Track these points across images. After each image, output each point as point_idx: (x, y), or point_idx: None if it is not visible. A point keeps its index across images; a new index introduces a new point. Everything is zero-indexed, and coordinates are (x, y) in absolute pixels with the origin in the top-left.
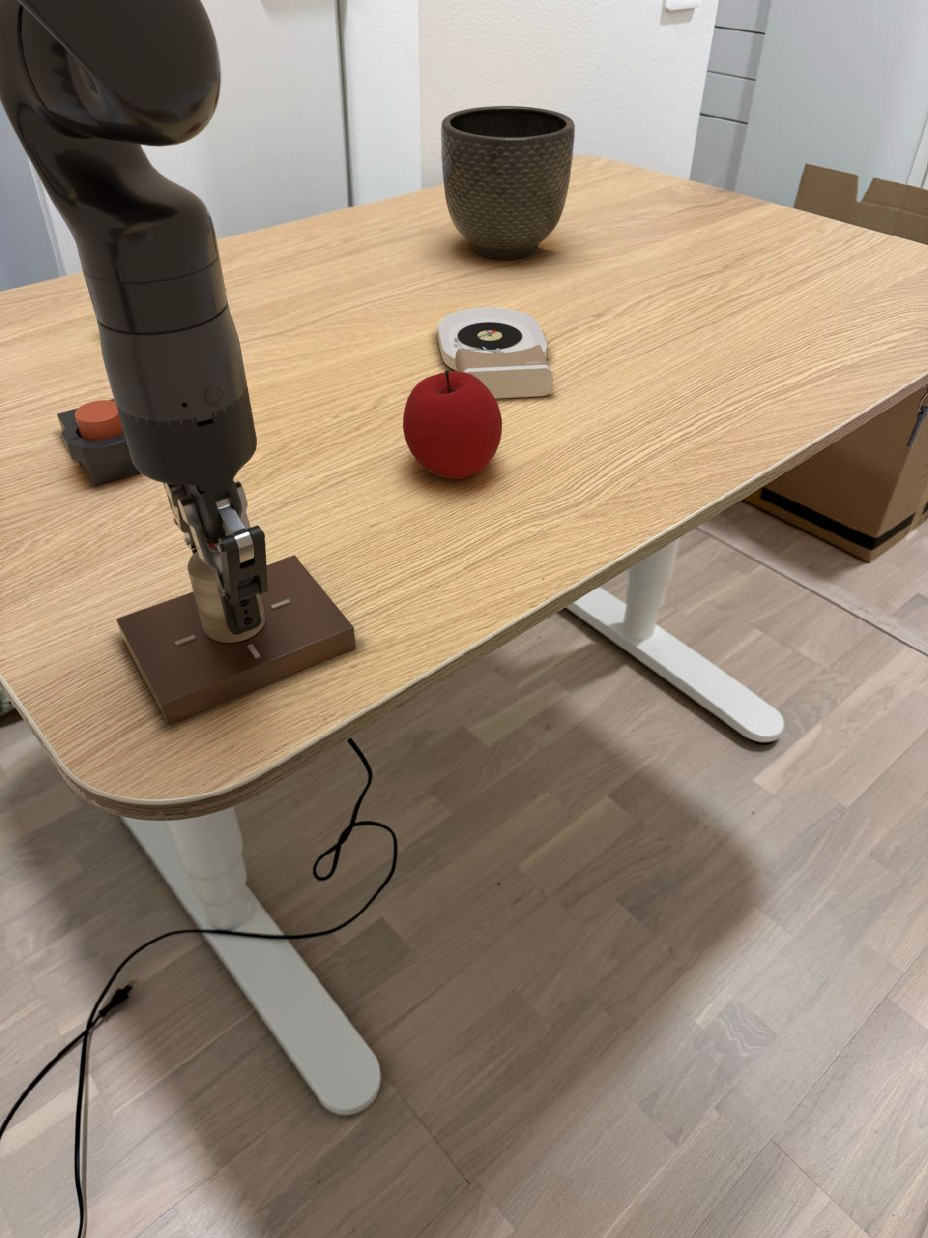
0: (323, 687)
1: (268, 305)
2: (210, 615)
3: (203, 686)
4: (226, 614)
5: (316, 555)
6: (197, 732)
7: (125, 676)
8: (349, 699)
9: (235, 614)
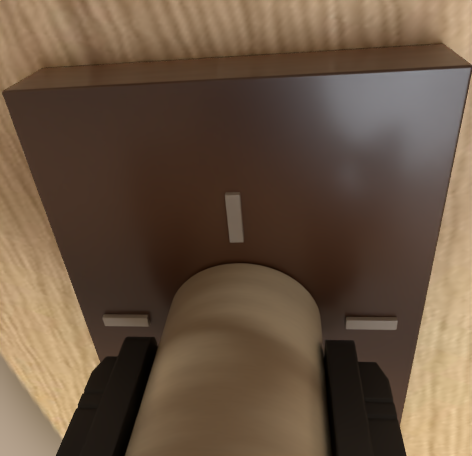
0: (68, 339)
1: None
2: (175, 341)
3: (47, 202)
4: (109, 390)
5: (415, 444)
6: (5, 122)
7: (276, 8)
8: (29, 355)
9: (75, 415)
